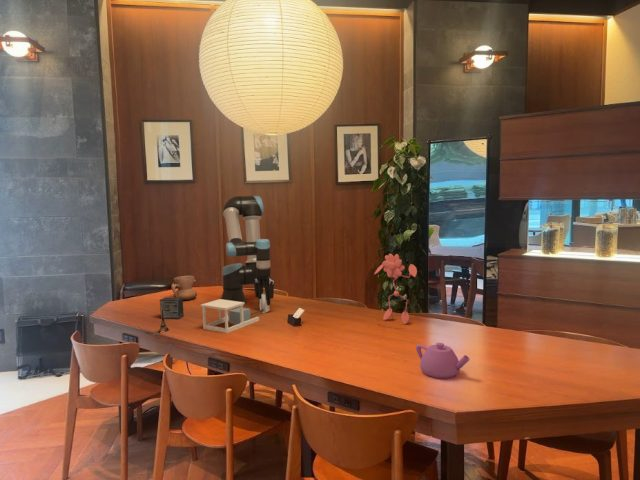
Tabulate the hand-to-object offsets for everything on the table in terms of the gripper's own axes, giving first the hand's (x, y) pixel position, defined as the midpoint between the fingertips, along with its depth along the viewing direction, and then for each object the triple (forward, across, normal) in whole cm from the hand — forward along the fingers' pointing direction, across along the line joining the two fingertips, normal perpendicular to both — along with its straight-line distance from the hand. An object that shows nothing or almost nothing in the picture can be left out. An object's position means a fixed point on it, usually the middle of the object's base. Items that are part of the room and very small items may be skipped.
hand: (264, 310), depth 251 cm
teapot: (+2, +107, -36) cm, 113 cm away
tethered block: (+1, 0, -11) cm, 12 cm away
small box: (+2, -41, -28) cm, 49 cm away
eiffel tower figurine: (+3, -24, -49) cm, 54 cm away
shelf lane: (+2, 0, -26) cm, 27 cm away
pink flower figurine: (+2, +68, +14) cm, 70 cm away
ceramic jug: (+2, -68, +6) cm, 68 cm away
